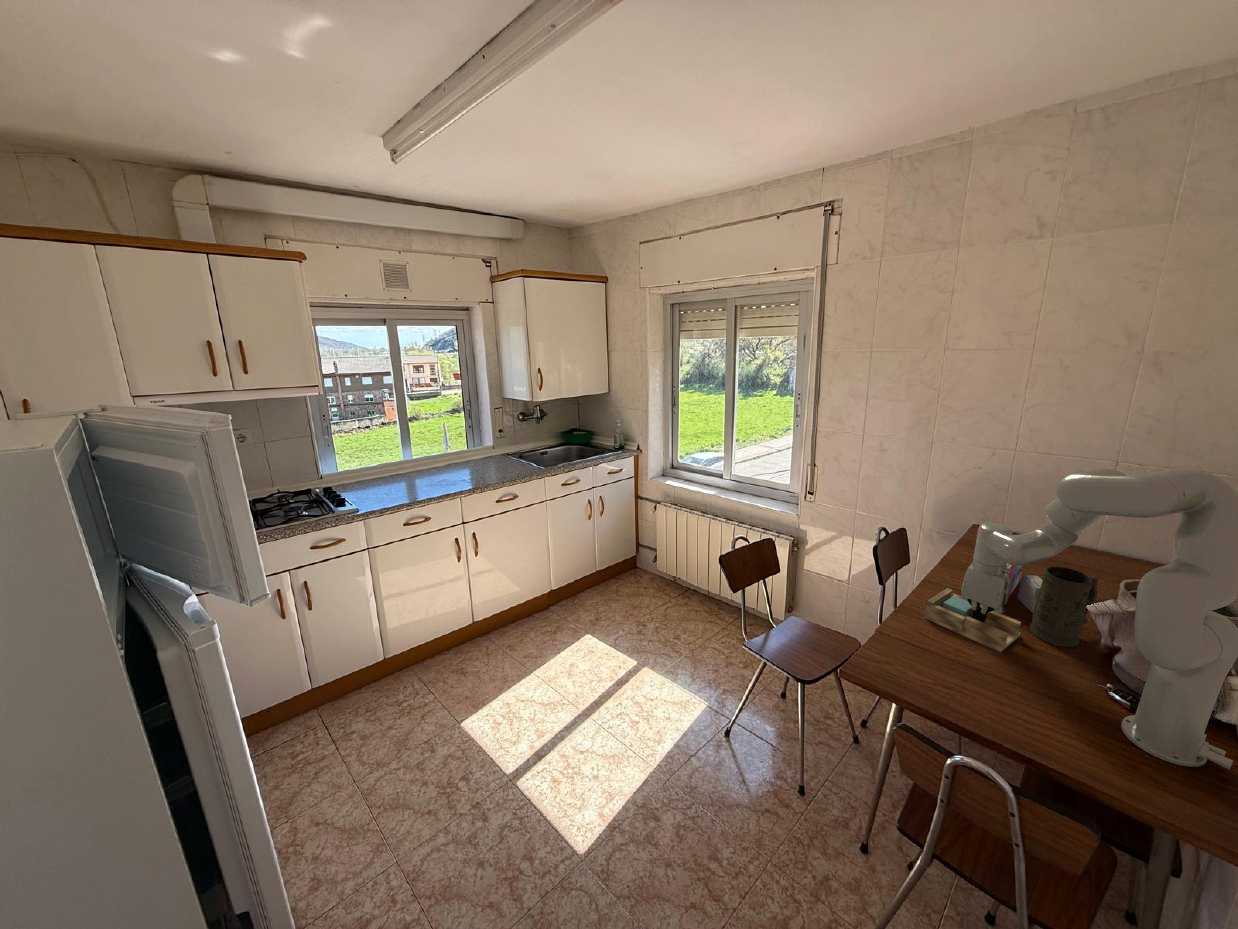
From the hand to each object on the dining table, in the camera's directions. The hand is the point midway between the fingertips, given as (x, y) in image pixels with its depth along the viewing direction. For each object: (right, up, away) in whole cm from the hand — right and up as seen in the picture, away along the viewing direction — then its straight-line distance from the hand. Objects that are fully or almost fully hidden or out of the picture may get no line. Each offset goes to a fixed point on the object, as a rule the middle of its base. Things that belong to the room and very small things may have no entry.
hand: (978, 622), depth 144 cm
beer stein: (+21, -3, -3) cm, 22 cm away
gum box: (+21, +4, +20) cm, 29 cm away
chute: (-1, -2, +2) cm, 3 cm away
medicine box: (+24, +2, +10) cm, 26 cm away
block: (-3, 0, +5) cm, 6 cm away
